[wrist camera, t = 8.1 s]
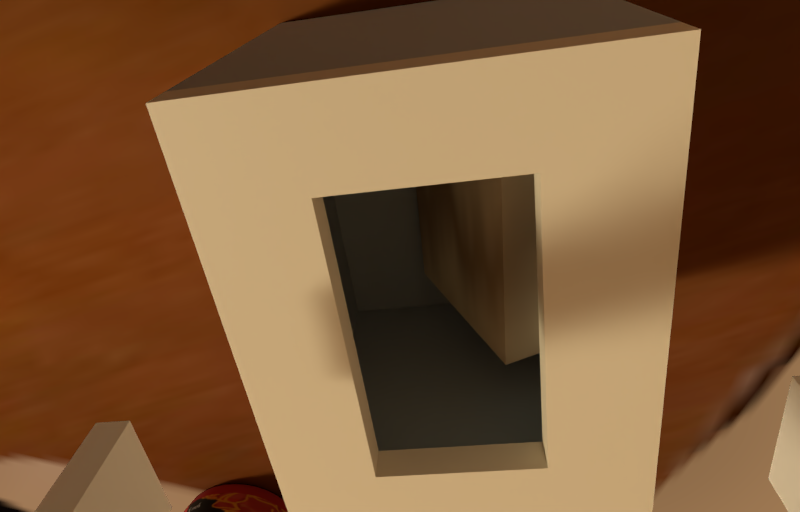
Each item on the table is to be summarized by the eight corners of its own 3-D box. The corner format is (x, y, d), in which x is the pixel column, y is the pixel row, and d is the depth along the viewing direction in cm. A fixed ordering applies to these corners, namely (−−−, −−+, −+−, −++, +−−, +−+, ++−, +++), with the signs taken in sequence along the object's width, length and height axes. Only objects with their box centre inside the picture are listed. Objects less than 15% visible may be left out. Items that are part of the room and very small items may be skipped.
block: (408, 115, 22) (501, 169, 16) (479, 100, 23) (591, 147, 17) (424, 273, 26) (505, 364, 20) (485, 255, 26) (581, 338, 21)
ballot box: (280, 23, 23) (145, 103, 12) (571, -20, 21) (701, 29, 11) (346, 319, 29) (296, 535, 19) (571, 300, 28) (651, 520, 18)
